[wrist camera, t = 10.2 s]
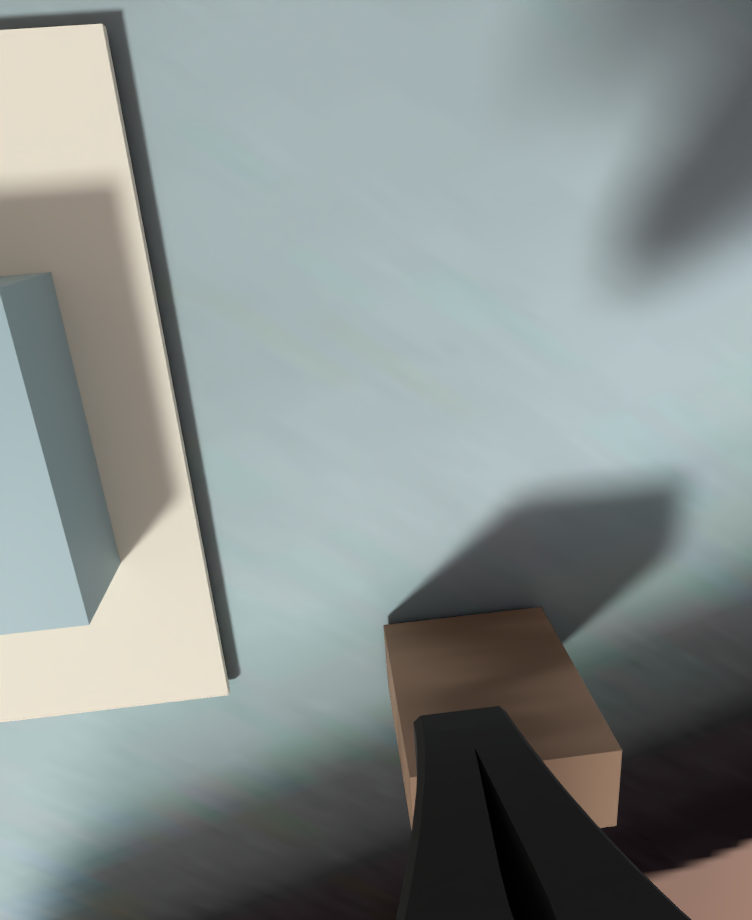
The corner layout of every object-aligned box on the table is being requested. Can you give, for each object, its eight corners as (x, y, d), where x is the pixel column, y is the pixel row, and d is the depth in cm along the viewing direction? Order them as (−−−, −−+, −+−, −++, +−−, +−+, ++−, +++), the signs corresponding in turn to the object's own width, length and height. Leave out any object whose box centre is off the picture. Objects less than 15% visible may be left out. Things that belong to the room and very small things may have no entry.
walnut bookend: (541, 606, 22) (621, 750, 16) (540, 669, 22) (616, 825, 17) (383, 624, 21) (409, 778, 16) (388, 687, 22) (415, 852, 17)
